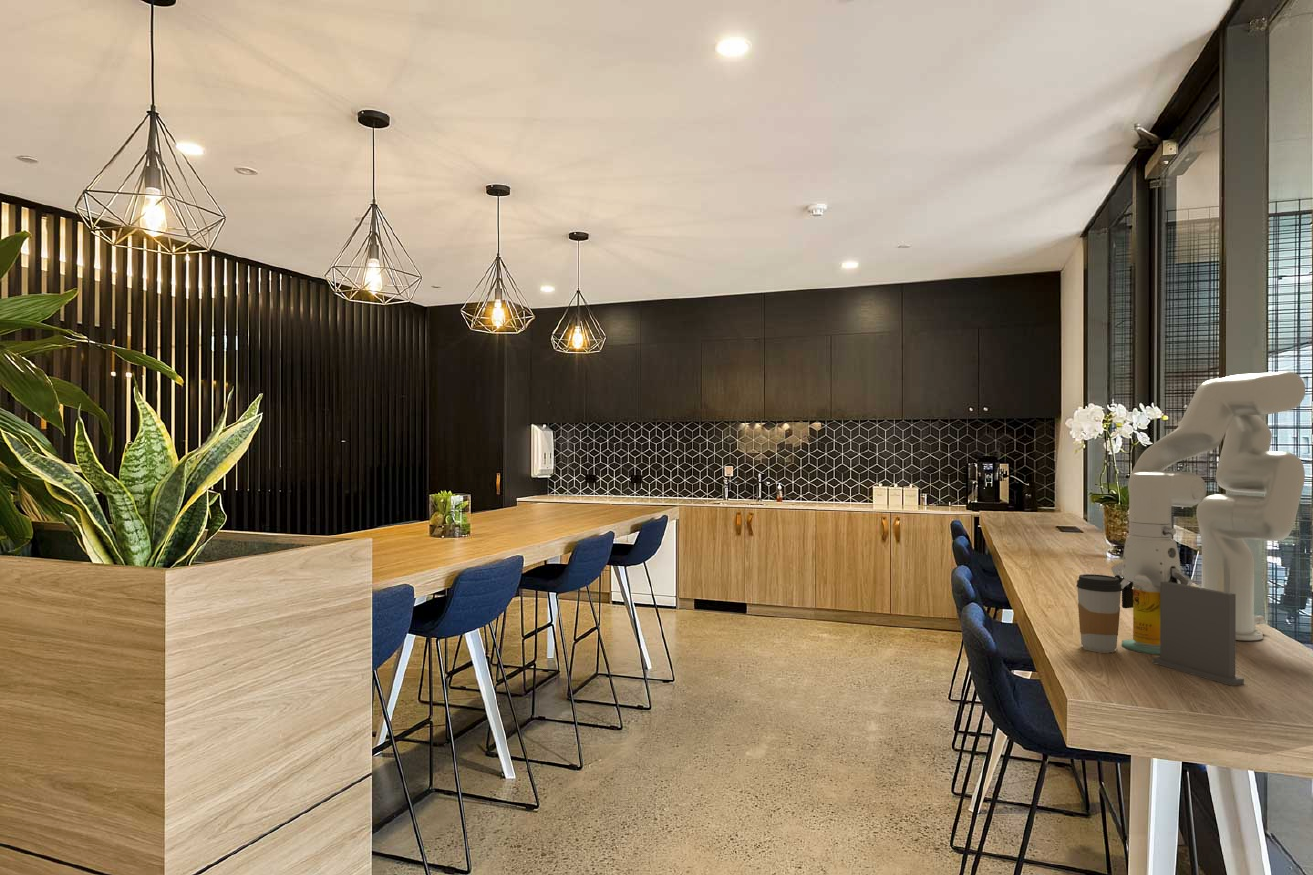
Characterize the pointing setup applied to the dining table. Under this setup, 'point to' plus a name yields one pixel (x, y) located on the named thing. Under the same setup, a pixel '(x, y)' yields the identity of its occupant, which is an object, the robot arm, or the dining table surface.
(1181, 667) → the screen
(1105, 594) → the coffee cup
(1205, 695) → the dining table surface
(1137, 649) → the coaster
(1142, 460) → the robot arm
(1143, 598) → the beer can
